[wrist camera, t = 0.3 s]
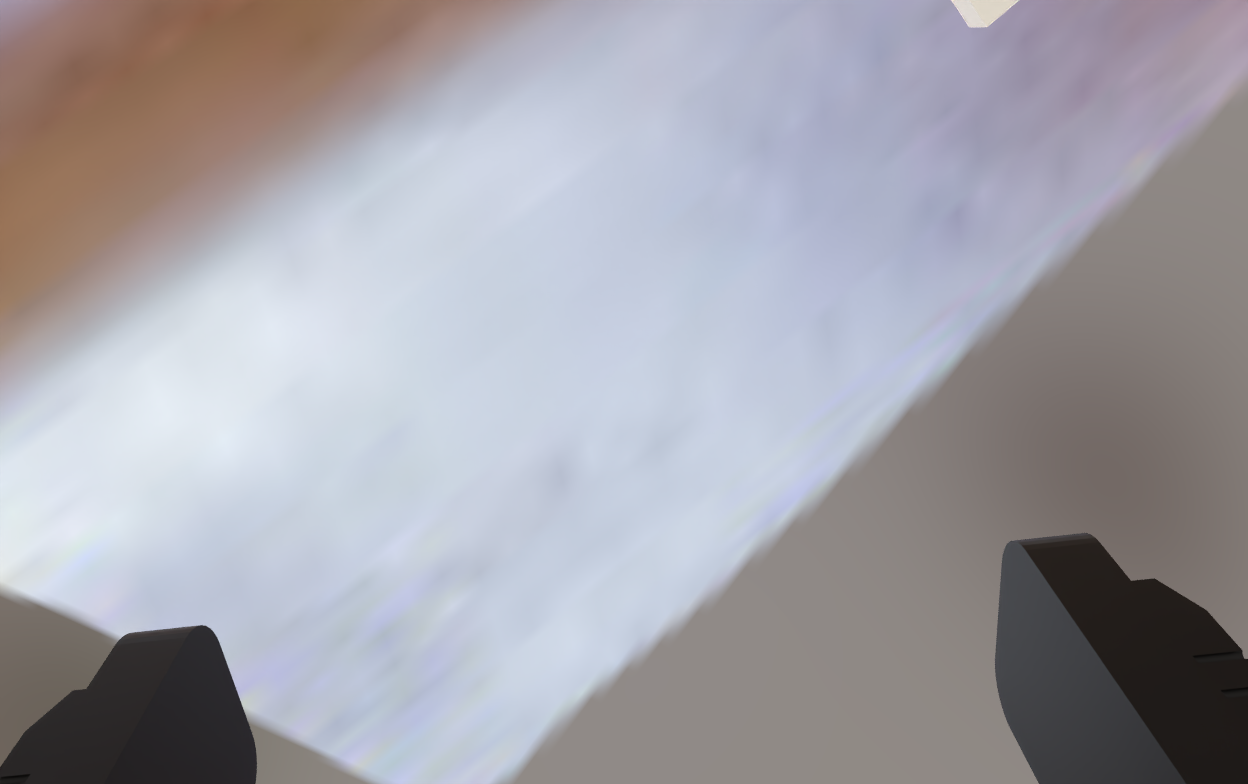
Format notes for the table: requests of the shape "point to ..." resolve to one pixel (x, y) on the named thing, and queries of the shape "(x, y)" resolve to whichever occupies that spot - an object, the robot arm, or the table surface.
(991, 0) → the plate
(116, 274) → the table surface
